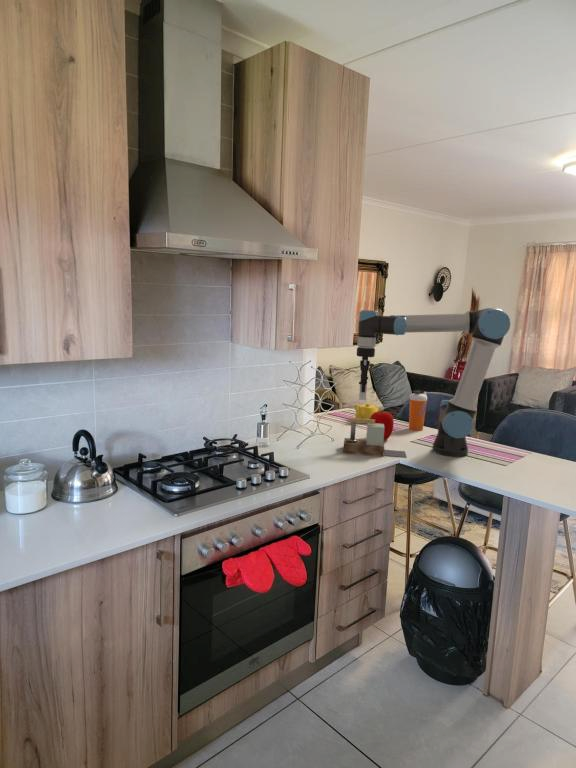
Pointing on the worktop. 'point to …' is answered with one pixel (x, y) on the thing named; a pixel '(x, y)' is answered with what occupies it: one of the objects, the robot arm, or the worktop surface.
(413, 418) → the shaker bottle
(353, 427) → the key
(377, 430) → the grey block
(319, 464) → the worktop surface
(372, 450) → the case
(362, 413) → the teapot
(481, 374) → the robot arm
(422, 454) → the worktop surface
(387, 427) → the tomato
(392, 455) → the mat
